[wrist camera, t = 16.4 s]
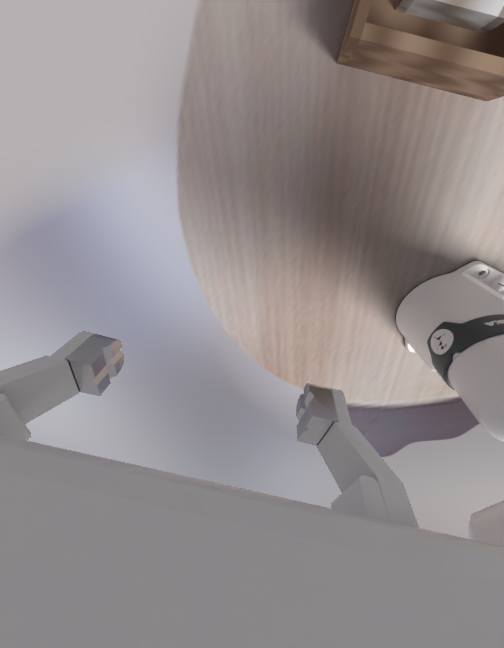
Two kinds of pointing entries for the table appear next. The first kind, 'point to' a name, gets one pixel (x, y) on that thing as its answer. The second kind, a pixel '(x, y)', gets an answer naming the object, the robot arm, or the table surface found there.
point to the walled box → (430, 43)
